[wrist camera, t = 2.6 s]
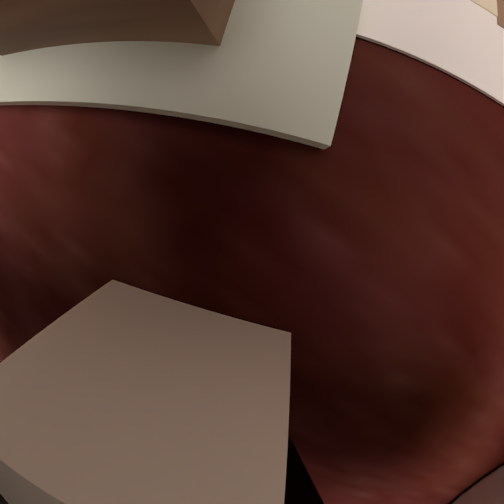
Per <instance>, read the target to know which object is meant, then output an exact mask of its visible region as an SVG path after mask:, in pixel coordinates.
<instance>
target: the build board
mask: <svg viewBox="0 0 504 504" xmlns="http://www.w3.org/2000/svg"><path fill="white" fill-rule="evenodd" d="M362 2H363V0H235V2H234V5H233V8H232V11H231V14H230V17H229V20H228V23H227V26H226V29H225V32H224V35H223V38H222V42H221V45H220V46H214V45H204V44H194V43H180V42H160V41H113V42H93V43H81V44H70V45H61V46H53V47H46V48H40V49H34V50H28V51H23V52H18V53H13V54H8V55H4V56H2V55H0V106H1V105H58V106H80V107H95V108H108V109H118V110H128V111H137V112H145V113H153V114H161V115H168V116H174V117H181V118H187V119H193V120H199V121H205V122H210V123H215V124H221V125H226V126H231V127H236V128H240V129H245V130H249V131H254V132H258V133H263V134H267V135H271V136H275V137H279V138H283V139H287V140H291V141H295V142H299V143H302V144H306V145H310V146H313V147H317V148H320V149H326V148H328V147H330V146H331V143H332V139H333V135H334V131H335V127H336V123H337V119H338V115H339V111H340V106H341V102H342V98H343V94H344V89H345V85H346V80H347V76H348V71H349V67H350V62H351V58H352V53H353V48H354V43H355V38H356V33H357V28H358V23H359V18H360V13H361V8H362Z"/></svg>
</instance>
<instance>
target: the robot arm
mask: <svg viewBox="0 0 504 504" xmlns="http://www.w3.org/2000/svg"><path fill="white" fill-rule="evenodd" d="M0 504H9V503H8V502H7V501H6V500H5V499H4V497H3V496H2V495H1V494H0ZM284 504H324V503H323V501H322V499H321V497H320V495H319V493H318V491H317V489H316V487H315V485H314V483H313V482H312V480H311V478H310V476H309V474H308V472H307V470H306V468H305V466H304V464H303V462H302V460H301V458H300V456H299V454H298V452H297V450H296V448H295V446H294V444H293V442H292V440H291V438H290V436H289V434H288V449H287V467H286V483H285V498H284Z"/></svg>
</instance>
